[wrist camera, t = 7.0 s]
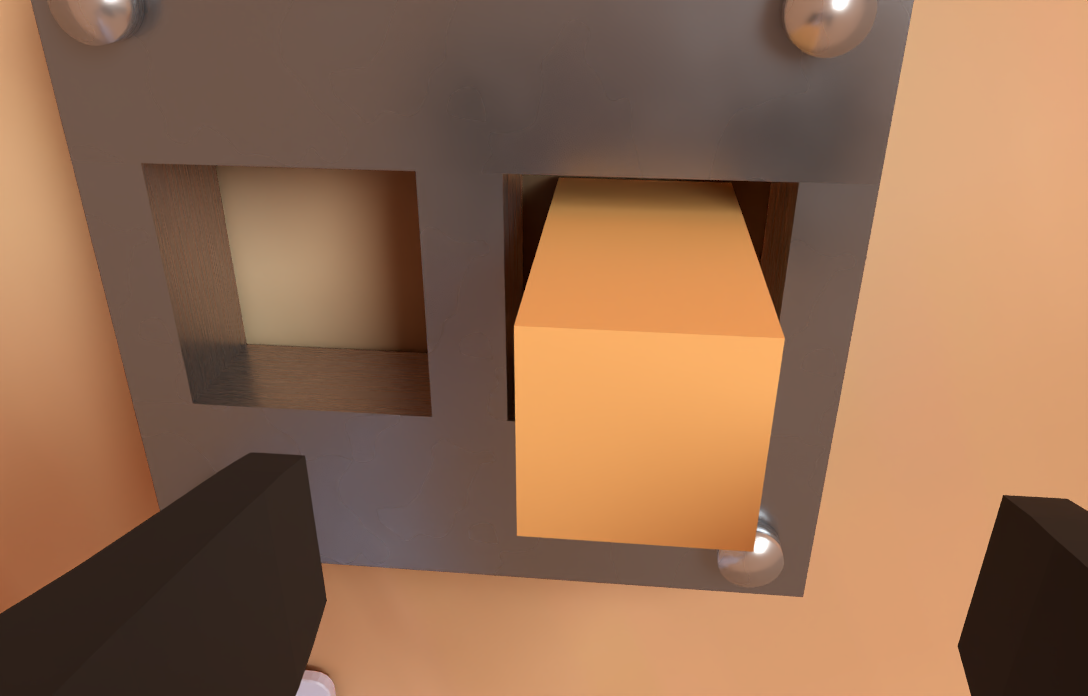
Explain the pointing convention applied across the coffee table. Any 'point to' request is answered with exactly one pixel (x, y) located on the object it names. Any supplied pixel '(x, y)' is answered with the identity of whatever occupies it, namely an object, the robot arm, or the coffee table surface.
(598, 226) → the orange rectangular block
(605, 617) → the coffee table surface
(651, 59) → the grey mounting plate
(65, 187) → the coffee table surface
